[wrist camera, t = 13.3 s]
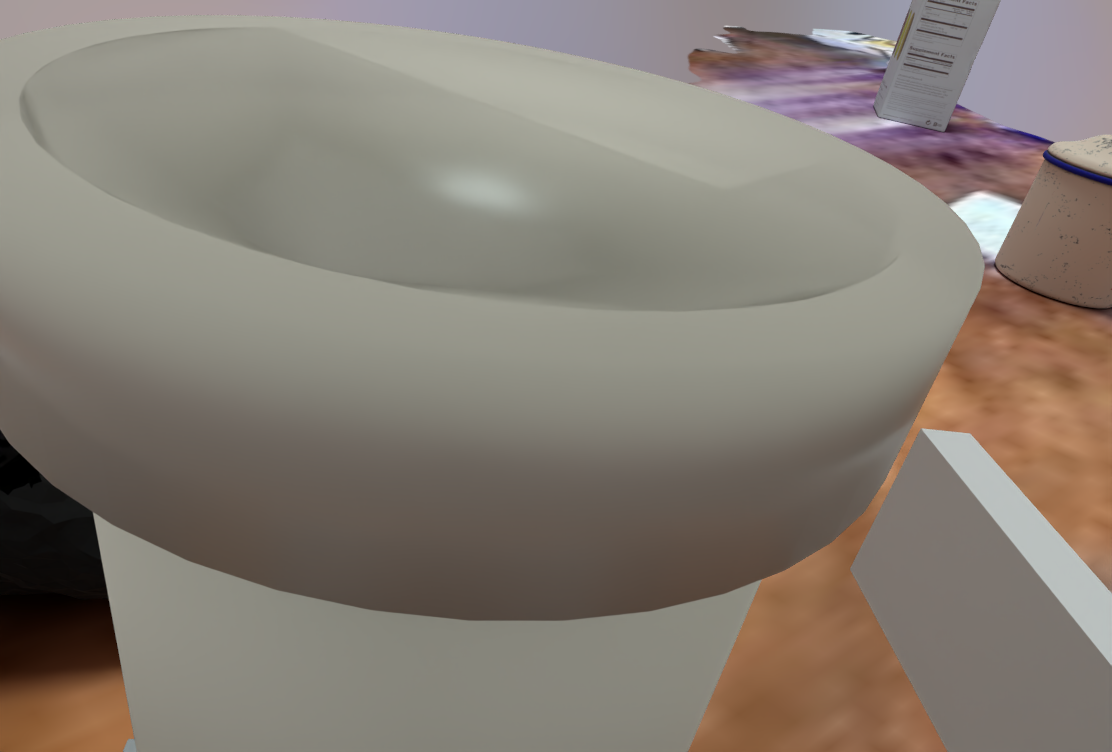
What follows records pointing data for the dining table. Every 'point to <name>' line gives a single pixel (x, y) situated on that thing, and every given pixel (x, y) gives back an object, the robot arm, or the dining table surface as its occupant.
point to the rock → (44, 535)
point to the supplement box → (933, 60)
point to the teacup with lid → (1066, 227)
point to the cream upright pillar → (443, 371)
